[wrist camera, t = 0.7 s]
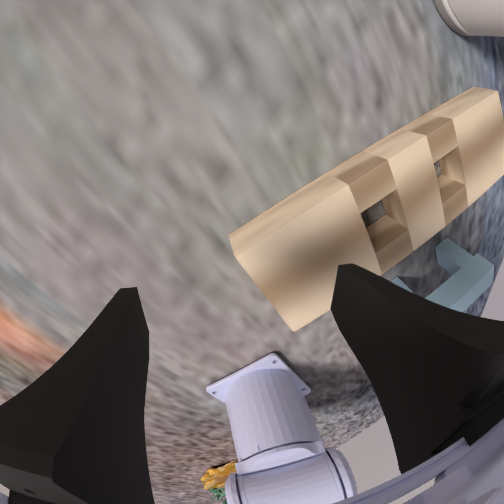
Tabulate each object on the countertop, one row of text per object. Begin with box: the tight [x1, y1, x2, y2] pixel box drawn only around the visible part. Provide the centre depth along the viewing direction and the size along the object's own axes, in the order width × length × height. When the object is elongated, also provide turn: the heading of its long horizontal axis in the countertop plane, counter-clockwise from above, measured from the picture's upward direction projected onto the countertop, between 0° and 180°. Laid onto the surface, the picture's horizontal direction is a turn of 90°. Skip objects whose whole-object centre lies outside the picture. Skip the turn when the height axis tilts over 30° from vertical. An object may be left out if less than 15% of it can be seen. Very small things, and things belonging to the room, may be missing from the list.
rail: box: [228, 87, 504, 332], centre depth 19 cm, size 8×26×3 cm, turn 121°
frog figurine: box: [201, 460, 238, 504], centre depth 35 cm, size 10×18×15 cm, turn 139°
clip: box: [390, 238, 494, 312], centre depth 23 cm, size 2×10×6 cm, turn 121°
